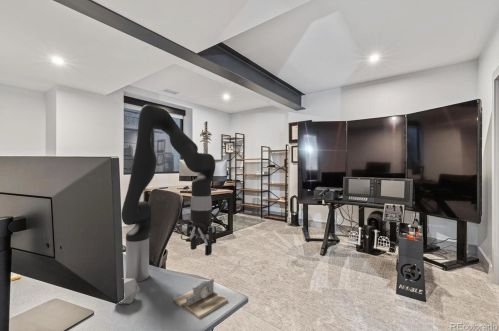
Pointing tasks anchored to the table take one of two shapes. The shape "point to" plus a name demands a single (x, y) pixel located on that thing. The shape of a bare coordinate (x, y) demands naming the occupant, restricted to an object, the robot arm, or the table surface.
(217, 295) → the board
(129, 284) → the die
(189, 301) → the garden wall model
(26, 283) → the table surface
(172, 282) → the table surface
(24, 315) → the table surface
